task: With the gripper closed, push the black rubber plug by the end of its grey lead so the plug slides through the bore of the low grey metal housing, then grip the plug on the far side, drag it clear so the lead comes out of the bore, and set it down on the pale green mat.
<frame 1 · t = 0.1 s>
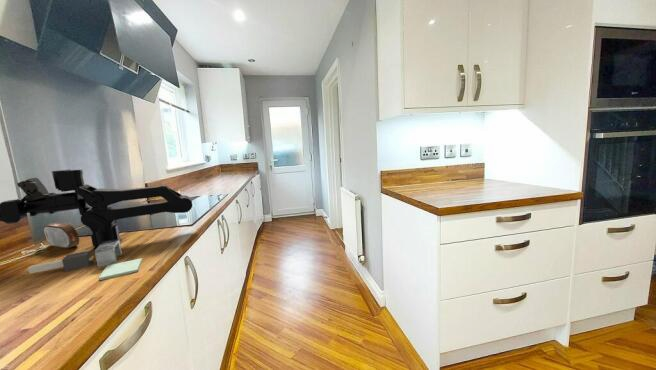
mat: (122, 269, 69), on the counter
housing: (110, 259, 76), on the counter
plug: (79, 266, 72), on the counter
tin: (63, 247, 89), on the counter
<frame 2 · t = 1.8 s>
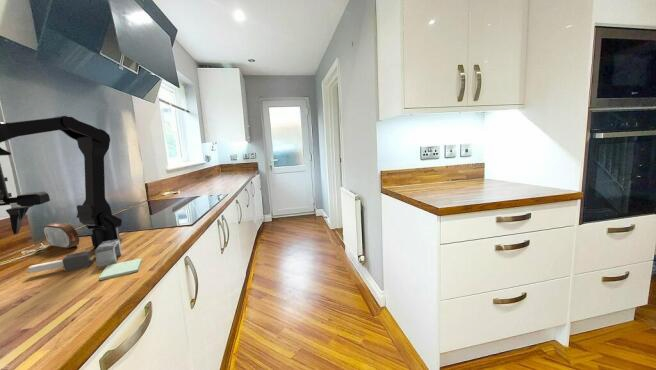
hand: (0, 236, 64), 12 cm above the counter, tool pointing down, fingers open, 5 cm apart
nothing on the counter moved.
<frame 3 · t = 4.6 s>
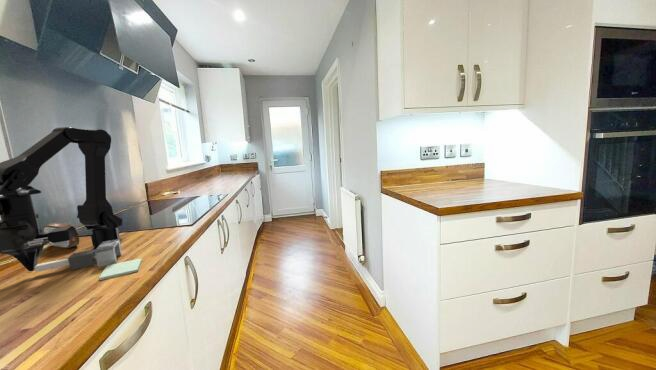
hand: (32, 270, 68), 1 cm above the counter, tool pointing down, fingers closed
plug: (85, 265, 73), on the counter, touching gripper
everything else where it was.
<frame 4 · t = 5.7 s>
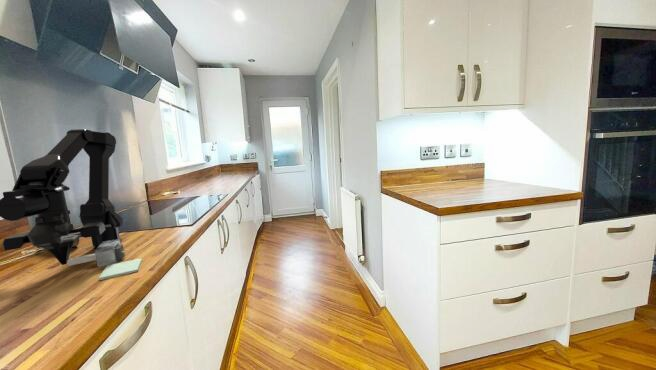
hand: (64, 264, 71), 1 cm above the counter, tool pointing down, fingers closed
plug: (113, 259, 76), on the counter, touching gripper
everything else where it was.
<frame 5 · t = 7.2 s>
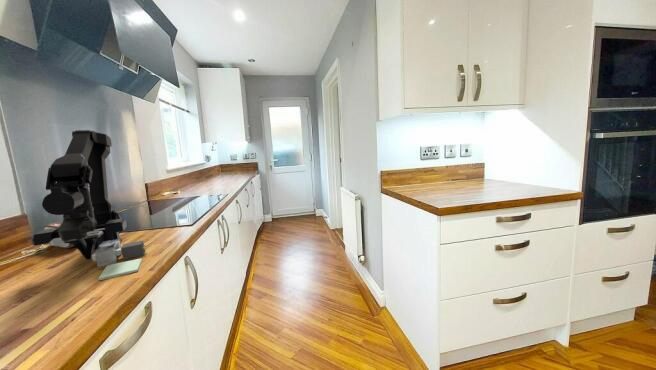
hand: (89, 259, 73), 2 cm above the counter, tool pointing down, fingers closed
plug: (134, 255, 78), on the counter, touching gripper
everything else where it was.
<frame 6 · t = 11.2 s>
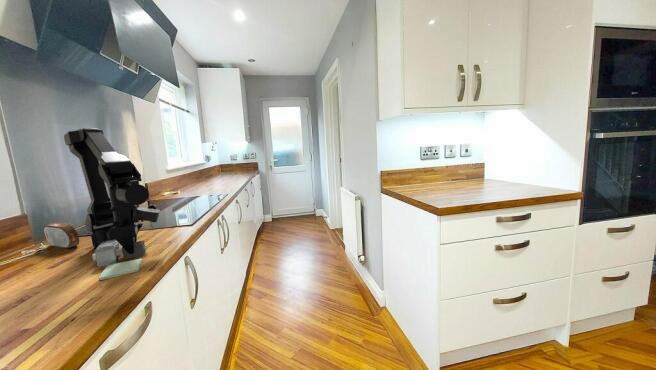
hand: (132, 251, 78), 1 cm above the counter, tool pointing down, fingers closed on plug, 4 cm apart
plug: (135, 255, 78), on the counter, touching gripper
everything else where it was.
when the fingers open (3 cm above the counter, at t = 16.6 s): plug drops 1 cm, resting on mat.
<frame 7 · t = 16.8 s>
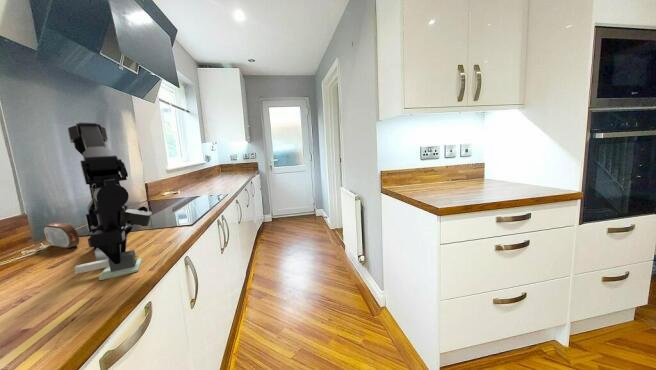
hand: (120, 259, 69), 3 cm above the counter, tool pointing down, fingers open, 6 cm apart
plug: (124, 266, 69), point 1 cm above the counter, touching mat
everything else where it was.
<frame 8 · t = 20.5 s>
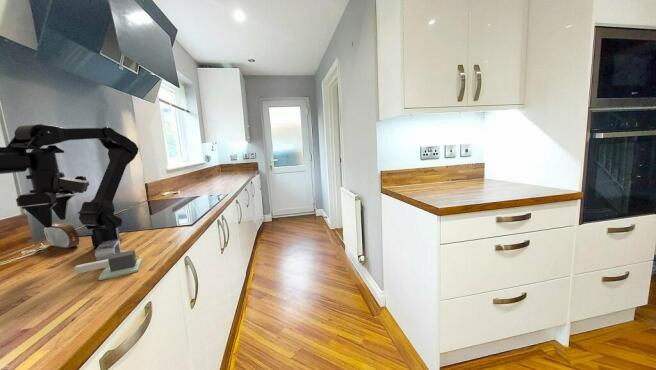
hand: (56, 223, 74), 12 cm above the counter, tool pointing down, fingers open, 9 cm apart
nothing on the counter moved.
at the end: plug inside the target area on the mat (0.5 cm from its centre), point 0.6 cm above the mat's base; plug touching mat; the gripper is holding nothing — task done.
